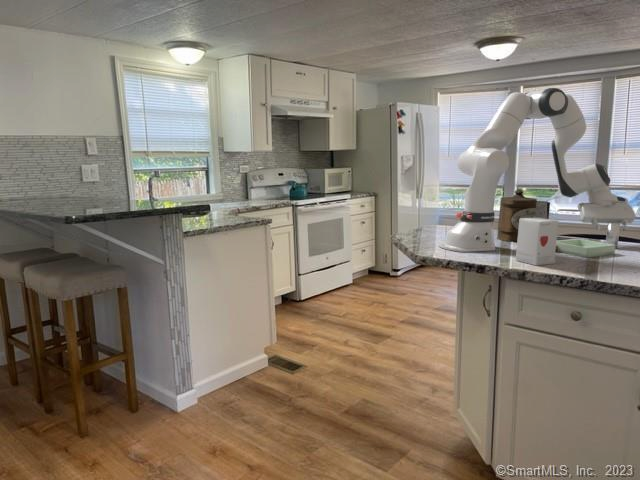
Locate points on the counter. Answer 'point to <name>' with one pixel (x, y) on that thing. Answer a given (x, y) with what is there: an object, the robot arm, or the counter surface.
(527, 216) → the wooden container
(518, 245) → the supplement box
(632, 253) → the counter surface
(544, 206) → the coffee box
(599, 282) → the counter surface
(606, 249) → the tray
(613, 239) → the clear glass cylinder
